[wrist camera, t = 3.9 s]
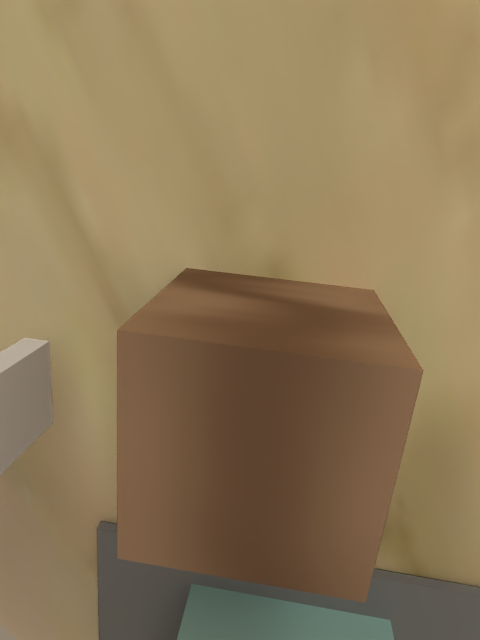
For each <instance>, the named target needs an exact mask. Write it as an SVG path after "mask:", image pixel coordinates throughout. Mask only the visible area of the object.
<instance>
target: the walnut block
mask: <svg viewBox="0 0 480 640" xmlns="http://www.w3.org/2000/svg"><path fill="white" fill-rule="evenodd" d="M422 374H423V369H422V368H421V366H420V364H419V363H418V361H417V359H416V358H415V356H414V355H413V353H412V351H411V350H410V348H409V346H408V345H407V343H406V342H405V340H404V338H403V337H402V335H401V333H400V332H399V330H398V329H397V327H396V325H395V324H394V322H393V320H392V319H391V317H390V316H389V314H388V312H387V311H386V309H385V307H384V306H383V304H382V303H381V301H380V299H379V298H378V296H377V294H376V293H375V291H374V290H367V289H359V288H350V287H342V286H334V285H325V284H317V283H308V282H300V281H291V280H283V279H274V278H266V277H257V276H249V275H240V274H232V273H223V272H215V271H206V270H198V269H189V268H186V269H185V270H184V271H183V272H182V273H181V274H180V275H178V276H177V277H176V278H175V279H174V280H173V281H172V282H171V283H169V284H168V285H167V286H166V287H165V288H164V289H163V290H162V291H161V292H159V293H158V294H157V295H156V296H155V297H154V298H153V299H152V300H150V301H149V302H148V303H147V304H146V305H145V306H144V307H143V308H142V309H140V310H139V311H138V312H137V313H136V314H135V315H134V316H133V317H131V318H130V319H129V320H128V321H127V322H126V323H125V324H124V325H123V326H121V327H120V328H119V329H118V330H117V559H123V560H128V561H134V562H140V563H145V564H151V565H157V566H162V567H168V568H173V569H179V570H185V571H190V572H196V573H202V574H207V575H213V576H218V577H224V578H230V579H235V580H241V581H247V582H252V583H258V584H263V585H269V586H275V587H280V588H286V589H292V590H297V591H303V592H308V593H314V594H320V595H325V596H331V597H337V598H342V599H348V600H353V601H359V602H366V598H367V594H368V590H369V586H370V582H371V578H372V574H373V570H374V566H375V562H376V558H377V554H378V550H379V546H380V542H381V538H382V534H383V530H384V526H385V522H386V518H387V514H388V510H389V506H390V502H391V498H392V494H393V490H394V486H395V482H396V478H397V474H398V470H399V466H400V462H401V458H402V454H403V450H404V446H405V442H406V438H407V434H408V430H409V426H410V422H411V418H412V414H413V410H414V406H415V402H416V398H417V394H418V390H419V386H420V382H421V378H422Z"/></svg>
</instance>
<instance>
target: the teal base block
mask: <svg viewBox="0 0 480 640" xmlns="http://www.w3.org/2000/svg"><path fill="white" fill-rule="evenodd" d="M177 640H394V636H393V631H392V626H391V621H390V620H387V619H382V618H376V617H371V616H365V615H360V614H355V613H349V612H344V611H338V610H333V609H327V608H322V607H316V606H311V605H305V604H300V603H294V602H289V601H284V600H278V599H273V598H267V597H262V596H256V595H251V594H245V593H240V592H234V591H229V590H223V589H218V588H213V587H207V586H202V585H196V584H191V587H190V591H189V595H188V599H187V603H186V607H185V610H184V614H183V618H182V622H181V626H180V630H179V633H178V637H177Z"/></svg>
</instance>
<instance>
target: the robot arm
mask: <svg viewBox="0 0 480 640" xmlns="http://www.w3.org/2000/svg"><path fill="white" fill-rule="evenodd" d="M52 424H53V411H52V389H51V367H50V345H49V341H45V340H38V339H31V338H23V339H22V340H20V341H18V342H16V343H15V344H13V345H11V346H10V347H8V348H6V349H4V350H3V351H1V352H0V475H1V474H2V473H3V472H4V471H5V470H6V469H7V468H8V467H9V466H10V465H11V464H12V463H13V462H14V461H15V460H16V459H17V458H18V457H19V456H20V455H21V454H22V453H23V452H24V451H25V450H26V449H27V448H28V447H29V446H30V445H31V444H32V443H33V442H34V441H35V440H36V439H37V438H38V437H39V436H40V435H41V434H42V433H43V432H44V431H45V430H46V429H48V428H49V427H50V426H51V425H52Z"/></svg>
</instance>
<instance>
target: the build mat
mask: <svg viewBox="0 0 480 640" xmlns="http://www.w3.org/2000/svg"><path fill="white" fill-rule="evenodd" d="M97 556H98V612H99V640H177V637H178V633H179V630H180V626H181V622H182V618H183V614H184V610H185V607H186V603H187V599H188V595H189V591H190V587H191V584H196V585H202V586H207V587H213V588H218V589H223V590H229V591H234V592H240V593H245V594H251V595H256V596H262V597H267V598H273V599H278V600H284V601H289V602H294V603H300V604H305V605H311V606H316V607H322V608H327V609H333V610H338V611H344V612H349V613H355V614H360V615H365V616H371V617H376V618H382V619H387V620H390V621H391V626H392V631H393V636H394V640H480V587H475V586H470V585H464V584H458V583H452V582H447V581H441V580H435V579H429V578H424V577H418V576H412V575H406V574H401V573H395V572H389V571H383V570H378V569H374V570H373V574H372V578H371V582H370V586H369V590H368V594H367V598H366V602H359V601H353V600H348V599H342V598H337V597H331V596H325V595H320V594H314V593H308V592H303V591H297V590H292V589H286V588H280V587H275V586H269V585H263V584H258V583H252V582H247V581H241V580H235V579H230V578H224V577H218V576H213V575H207V574H202V573H196V572H190V571H185V570H179V569H173V568H168V567H162V566H157V565H151V564H145V563H140V562H134V561H128V560H123V559H117V524H113V523H107V522H101V523H100V524H99V526H98V528H97Z"/></svg>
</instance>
